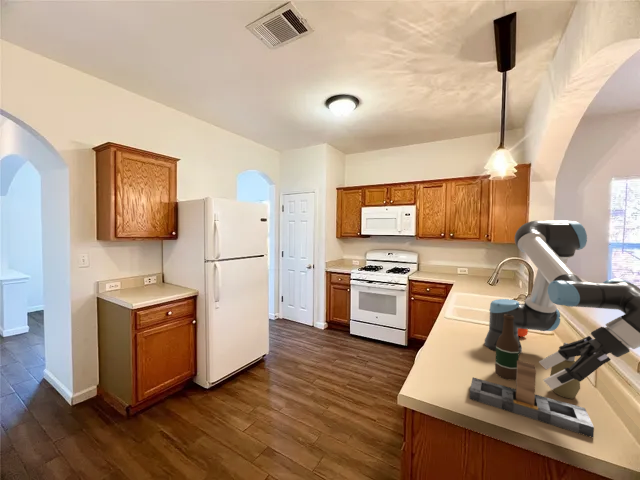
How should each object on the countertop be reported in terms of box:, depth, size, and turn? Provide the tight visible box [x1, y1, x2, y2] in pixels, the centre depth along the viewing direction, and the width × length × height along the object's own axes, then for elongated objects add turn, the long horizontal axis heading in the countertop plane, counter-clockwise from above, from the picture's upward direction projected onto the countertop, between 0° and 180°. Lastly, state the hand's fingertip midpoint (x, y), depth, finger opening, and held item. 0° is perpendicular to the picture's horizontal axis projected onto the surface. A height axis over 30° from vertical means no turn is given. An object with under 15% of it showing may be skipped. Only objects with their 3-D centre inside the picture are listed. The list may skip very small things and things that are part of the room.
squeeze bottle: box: [549, 342, 581, 400], centre depth 95 cm, size 8×8×18 cm
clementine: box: [518, 328, 529, 338], centre depth 148 cm, size 8×7×7 cm
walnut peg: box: [515, 360, 537, 405], centre depth 87 cm, size 4×4×14 cm
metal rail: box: [469, 377, 595, 438], centre depth 87 cm, size 30×10×3 cm, turn 56°
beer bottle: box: [494, 314, 520, 381], centre depth 107 cm, size 8×8×24 cm
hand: (544, 374), depth 84 cm, fingers open, 13 cm apart
